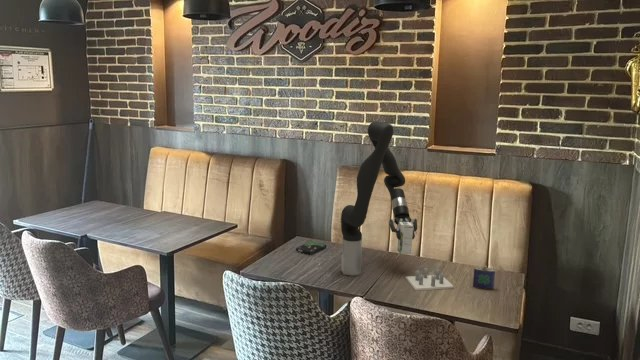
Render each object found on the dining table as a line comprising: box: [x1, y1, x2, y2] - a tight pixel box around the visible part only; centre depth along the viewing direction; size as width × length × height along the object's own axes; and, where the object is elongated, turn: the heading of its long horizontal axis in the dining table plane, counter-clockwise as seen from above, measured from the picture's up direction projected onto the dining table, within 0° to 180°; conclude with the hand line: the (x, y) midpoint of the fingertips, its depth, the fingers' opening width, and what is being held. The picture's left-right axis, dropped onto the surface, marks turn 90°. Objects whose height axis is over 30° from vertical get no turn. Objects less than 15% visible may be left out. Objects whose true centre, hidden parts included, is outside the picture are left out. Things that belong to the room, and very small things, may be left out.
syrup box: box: [397, 222, 413, 255], centre depth 251 cm, size 6×6×14 cm
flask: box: [472, 265, 496, 291], centre depth 238 cm, size 9×3×11 cm, turn 74°
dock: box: [405, 267, 454, 291], centre depth 243 cm, size 18×14×6 cm
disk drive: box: [295, 241, 327, 256], centre depth 287 cm, size 10×3×15 cm
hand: (406, 238), depth 249 cm, fingers closed on syrup box, 6 cm apart
